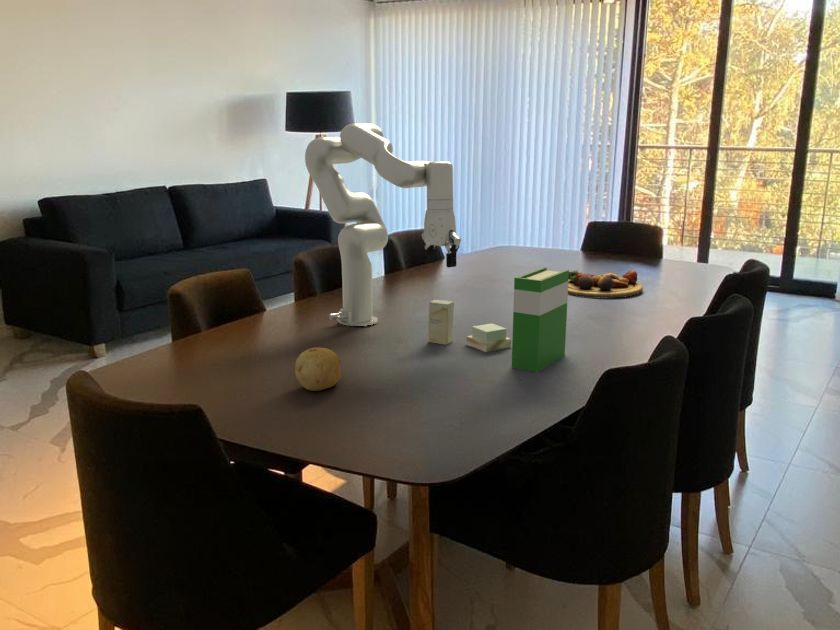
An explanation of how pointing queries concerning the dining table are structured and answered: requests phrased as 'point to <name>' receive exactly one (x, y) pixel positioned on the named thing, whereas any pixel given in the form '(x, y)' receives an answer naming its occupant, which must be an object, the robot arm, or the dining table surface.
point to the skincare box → (441, 321)
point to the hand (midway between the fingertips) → (441, 264)
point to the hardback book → (539, 318)
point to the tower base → (488, 344)
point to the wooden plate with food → (603, 285)
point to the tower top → (489, 332)
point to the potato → (318, 369)
